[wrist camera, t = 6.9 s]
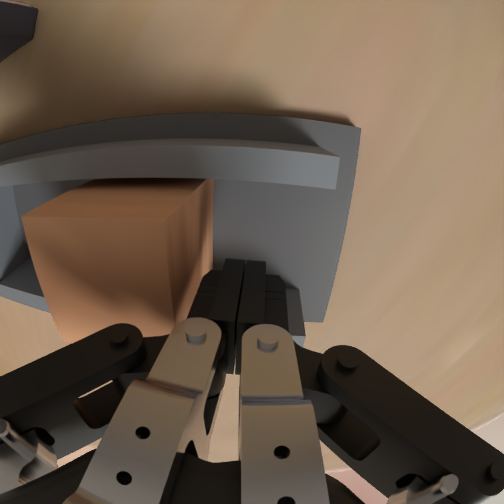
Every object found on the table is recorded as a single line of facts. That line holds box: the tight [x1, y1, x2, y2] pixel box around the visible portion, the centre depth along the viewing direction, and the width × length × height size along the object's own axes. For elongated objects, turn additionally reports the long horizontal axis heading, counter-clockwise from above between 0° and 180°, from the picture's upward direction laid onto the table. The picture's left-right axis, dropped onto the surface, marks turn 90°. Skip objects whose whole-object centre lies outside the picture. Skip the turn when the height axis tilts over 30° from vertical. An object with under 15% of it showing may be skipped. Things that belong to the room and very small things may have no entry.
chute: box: [0, 113, 361, 347], centre depth 13 cm, size 12×26×5 cm, turn 86°
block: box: [22, 178, 214, 344], centre depth 12 cm, size 6×6×7 cm
